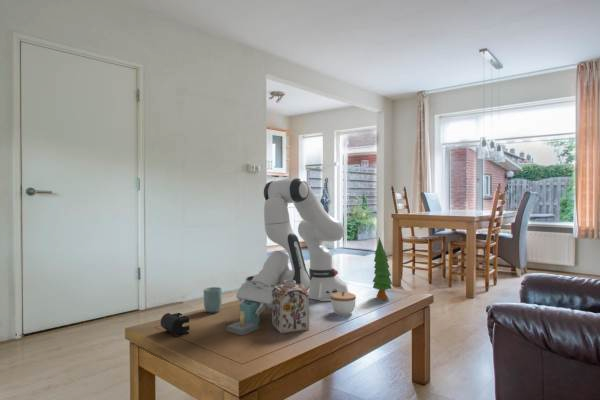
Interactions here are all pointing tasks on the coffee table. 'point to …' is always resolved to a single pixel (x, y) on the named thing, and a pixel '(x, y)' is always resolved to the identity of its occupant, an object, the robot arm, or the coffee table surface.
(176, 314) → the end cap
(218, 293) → the cup
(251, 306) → the collar
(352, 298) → the lidded jar
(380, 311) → the coffee table surface
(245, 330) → the shaft block
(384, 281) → the decorative tree
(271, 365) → the coffee table surface
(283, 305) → the decorative jar
